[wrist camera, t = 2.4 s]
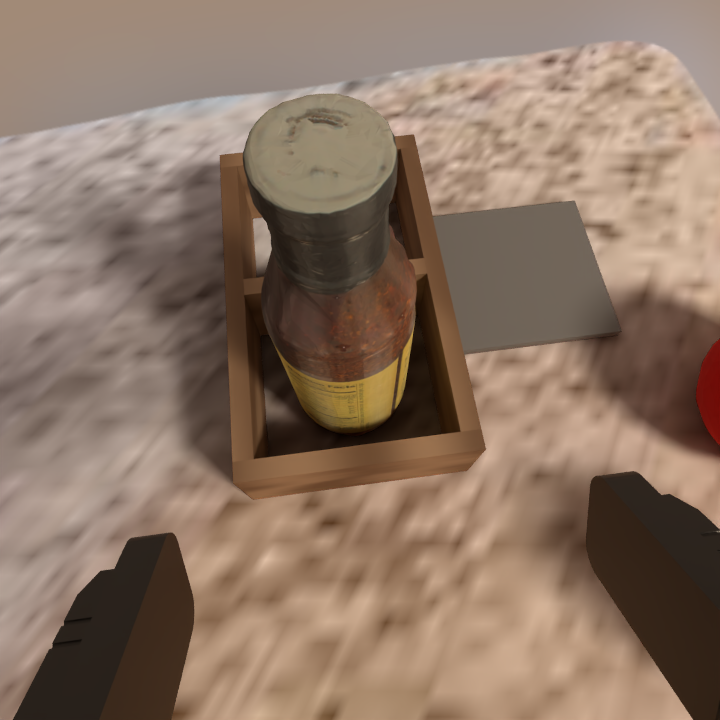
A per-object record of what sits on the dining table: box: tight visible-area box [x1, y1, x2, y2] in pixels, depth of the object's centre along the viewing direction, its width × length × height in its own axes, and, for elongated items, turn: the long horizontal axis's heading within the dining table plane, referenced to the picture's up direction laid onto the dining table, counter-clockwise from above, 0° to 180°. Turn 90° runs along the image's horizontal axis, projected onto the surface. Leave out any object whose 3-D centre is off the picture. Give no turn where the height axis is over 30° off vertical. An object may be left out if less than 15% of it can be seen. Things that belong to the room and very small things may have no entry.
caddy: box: [220, 135, 486, 500], centre depth 32 cm, size 12×20×5 cm, turn 8°
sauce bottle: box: [243, 94, 417, 436], centre depth 23 cm, size 7×6×20 cm
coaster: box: [433, 201, 621, 354], centre depth 35 cm, size 10×10×1 cm
